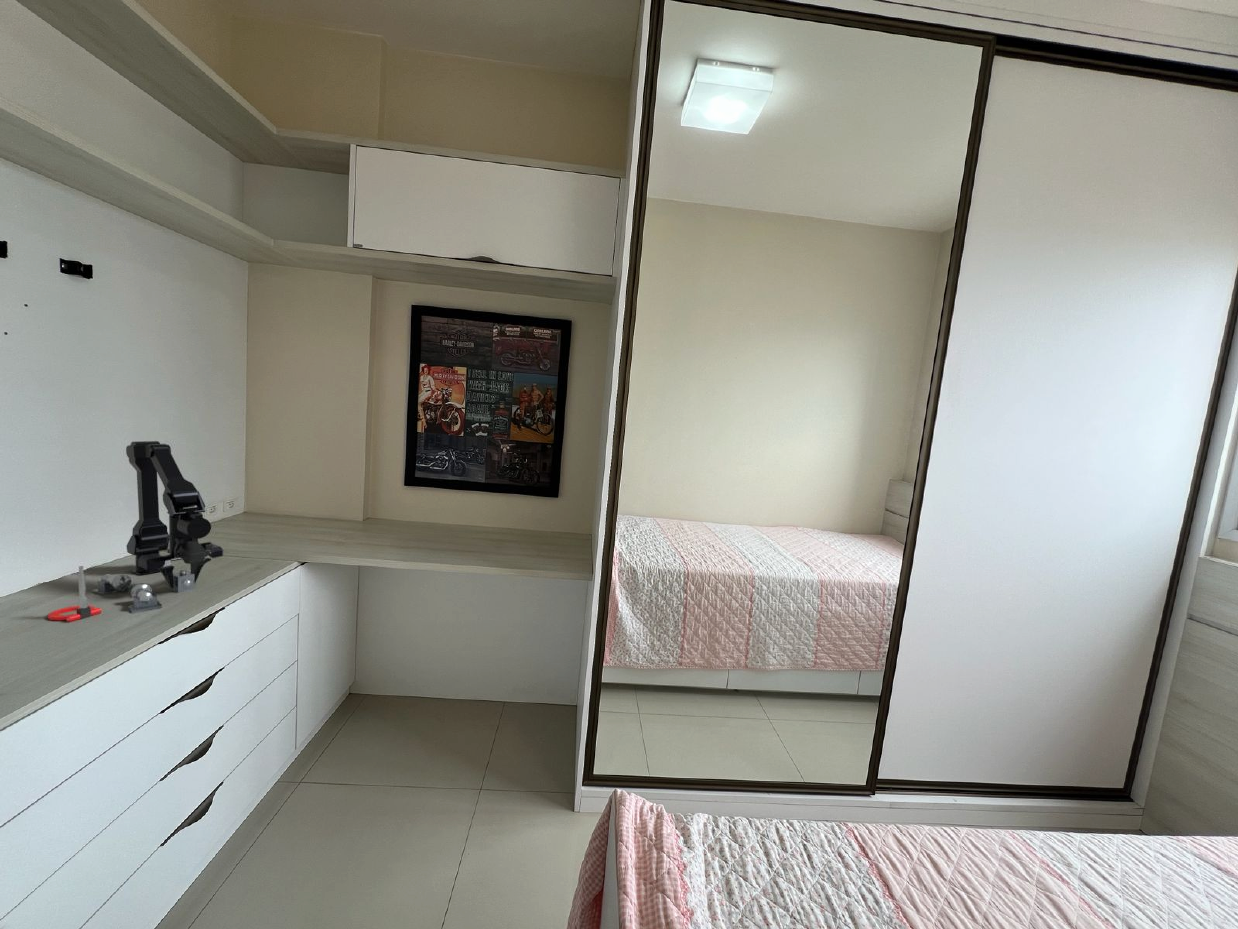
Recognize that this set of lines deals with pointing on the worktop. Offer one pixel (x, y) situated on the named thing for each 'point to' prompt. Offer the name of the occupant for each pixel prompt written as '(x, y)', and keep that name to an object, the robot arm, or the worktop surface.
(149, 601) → the shaft right
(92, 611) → the tow hook
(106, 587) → the shaft left
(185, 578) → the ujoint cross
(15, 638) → the worktop surface
